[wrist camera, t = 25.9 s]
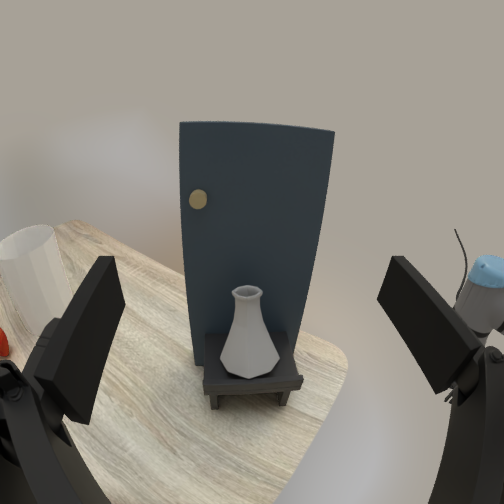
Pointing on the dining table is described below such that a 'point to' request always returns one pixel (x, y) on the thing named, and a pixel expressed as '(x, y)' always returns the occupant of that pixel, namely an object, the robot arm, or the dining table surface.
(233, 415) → the dining table surface
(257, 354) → the flask
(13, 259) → the container
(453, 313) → the robot arm
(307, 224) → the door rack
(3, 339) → the fruit
